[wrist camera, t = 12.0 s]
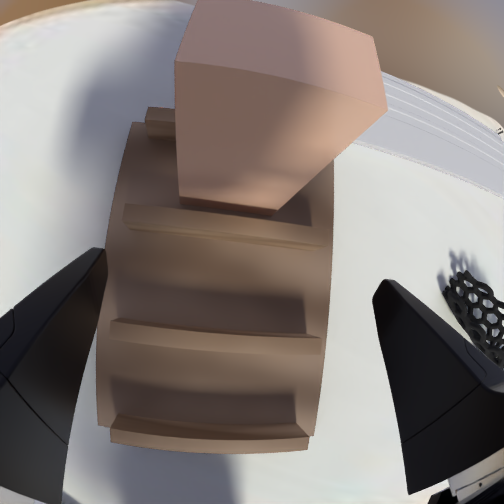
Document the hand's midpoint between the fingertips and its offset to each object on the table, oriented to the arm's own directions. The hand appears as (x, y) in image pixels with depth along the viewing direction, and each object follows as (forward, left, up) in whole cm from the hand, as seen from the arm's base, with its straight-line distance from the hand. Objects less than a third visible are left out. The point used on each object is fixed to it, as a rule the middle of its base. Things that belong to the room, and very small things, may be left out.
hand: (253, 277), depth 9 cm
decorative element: (+3, -29, -11) cm, 31 cm away
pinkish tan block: (+6, +2, -10) cm, 12 cm away
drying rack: (0, 0, -11) cm, 11 cm away
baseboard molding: (+25, -14, -12) cm, 31 cm away
